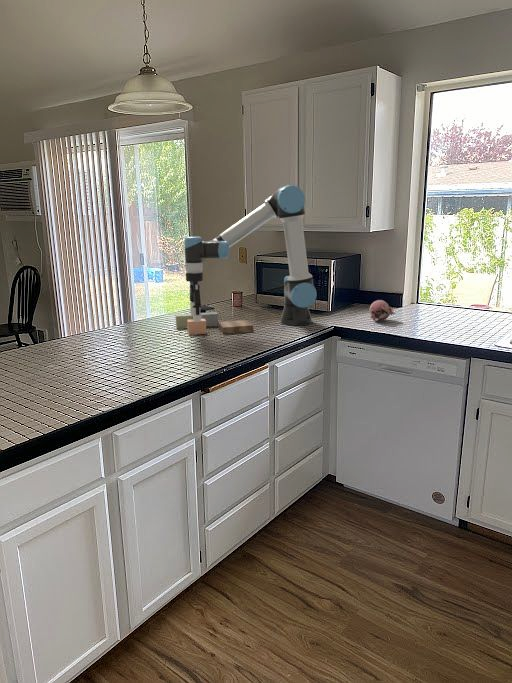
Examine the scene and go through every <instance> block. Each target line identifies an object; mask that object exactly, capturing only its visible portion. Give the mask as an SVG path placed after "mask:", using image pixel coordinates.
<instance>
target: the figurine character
mask: <svg viewBox="0 0 512 683" xmlns="http://www.w3.org/2000/svg"><path fill="white" fill-rule="evenodd" d="M212 310H215V307H212V306H208V305H201V307H200V312H201V313H208V311H212Z"/></svg>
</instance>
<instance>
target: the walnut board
mask: <svg viewBox="0 0 512 683" xmlns="http://www.w3.org/2000/svg"><path fill="white" fill-rule="evenodd" d="M217 327H218V329H219V331H220V332H221V334H223V335H227V334H240V333H242V334H243V333H252V332H254V325H253V324H252V323H251V322H250V321H249V320H248V319H245V320H229V321H227V320H226V321H218V326H217Z"/></svg>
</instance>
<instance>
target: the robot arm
mask: <svg viewBox="0 0 512 683" xmlns="http://www.w3.org/2000/svg"><path fill="white" fill-rule="evenodd" d="M305 204H306V196H305V193H304V191H303V190H302V189H301V188H300V187H299V186H297V185H294V184H287V185H284V186H280V187H279V188H278V189H277V190H276V191H275V192H274V193H272V194H271V195H270V196H269V197H267V198H266V199H265V200H264V202H263V204H261V205H260V206H258V207H257V208H256V209H254V210H252V211H251V212H249V214H247V215H246V216H244V217H243V218H241V219H240V220H239V221H236V223H234V224H232V225H231V226H230V227H229V228H227V229H225V230H224V231H223V232H221V233H219V235H217V236H216V237H214V238H212V239H210V240H209V241H205V240H203V239H202V237H201V236H186V237H185V238H184V261H185V264H184V266H183V267H184V268H185V272H186V273H185V281H186V282H189V297H188V298H189V301H190V303H189V304H190V305H189V306H190V308H189V309H190V314H191V316H193V319H194V322H201V312H200V307H201V306H202V301H201V293H200V291H201V290H200V284H199V282H202V281H203V280H204V277H203V276H204V274H203V269H204V268H203V262H204V261H203V259H204V260H205V259H221V260H222V259H228V258H229V257H230V248H231V247H233V246H234V245H235V244H237V243H238V242H240V241H241V240H243V239H244V238H245V237H247V236H249V235H250V234H251V233H253V232H254V231H255V230H257V229H259V228H260V227H261V226H263V225H264V224H266V223H267V222H269V221H270V220H272V219H277V218H278V219H279V220H280V221H281V222H282V225H283V232H284V240H285V248H286V254H287V255H286V256H287V262H288V271H289V275H287V276H285V277H284V280H283V287H284V288H283V294H284V295H283V296H284V298H283V300H284V302H283V304H284V305H283V310H282V312H281V316H280V323H281V324H283V325H287V326H305V325H310V324H311V323H312V320H313V319H312V318H313V317H312V315H311V311H310V308H309V307H311V305H313V304H314V303H315V301H316V299H317V294H318V293H317V289H316V287H315V285H314V278H313V275H312V274H311V273H310V272H309V265H308V258H307V248H306V240H305V234H304V233H305V232H304V225H303V223H304V222H303V218H304V217H305V215H306V211H305Z"/></svg>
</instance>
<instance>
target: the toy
mask: <svg viewBox="0 0 512 683" xmlns="http://www.w3.org/2000/svg"><path fill="white" fill-rule="evenodd" d="M368 310H369V314H370V316H369V317H370V318H371V319H372V320H373V321H374V322H375V323H377V322H376V320H378V321H380V322H381V321H384V320H385V321H386V320H387V319H388V318H389V316H390V315H391V316H393V315H396V313H395V312H394V311H395V310H394V309H393V308H392V307H391V306H390V305H389V303H387V302H386V301H384V300H383V299H377V300H375V301H373V302H372V303H371V304H370V306H369V309H368Z"/></svg>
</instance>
